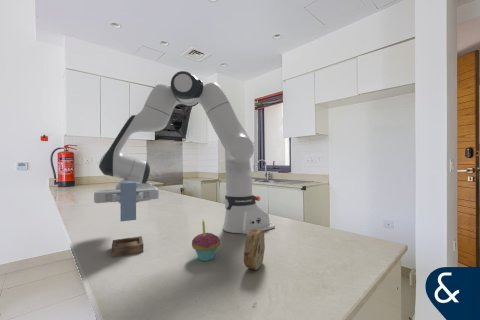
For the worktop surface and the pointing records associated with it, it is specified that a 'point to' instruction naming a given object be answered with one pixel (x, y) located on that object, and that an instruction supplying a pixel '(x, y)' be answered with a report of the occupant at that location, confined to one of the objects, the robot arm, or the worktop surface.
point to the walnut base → (127, 246)
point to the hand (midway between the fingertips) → (128, 197)
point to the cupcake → (205, 245)
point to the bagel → (254, 249)
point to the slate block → (128, 201)
